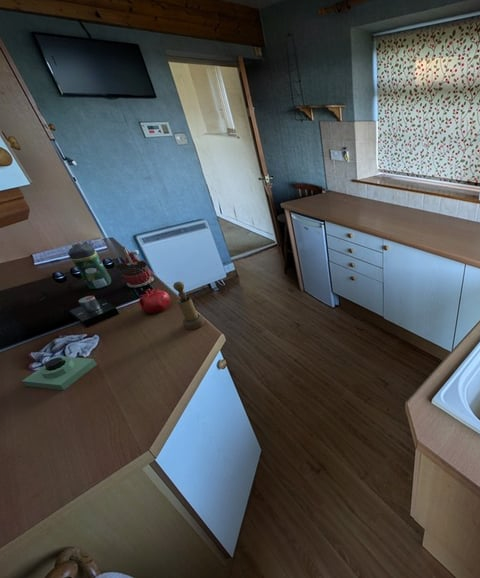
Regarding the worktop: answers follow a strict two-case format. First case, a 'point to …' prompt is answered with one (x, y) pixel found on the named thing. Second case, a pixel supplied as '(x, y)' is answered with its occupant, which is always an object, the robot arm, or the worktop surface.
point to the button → (54, 363)
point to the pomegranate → (154, 301)
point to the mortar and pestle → (188, 309)
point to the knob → (89, 304)
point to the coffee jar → (90, 266)
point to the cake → (135, 270)
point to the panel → (95, 313)
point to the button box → (60, 374)
